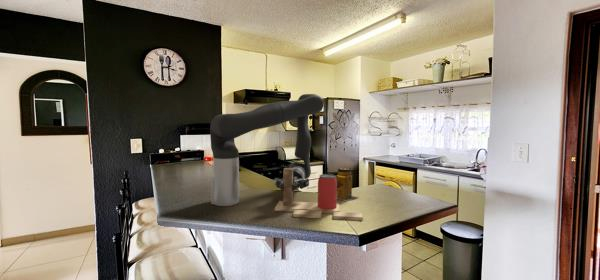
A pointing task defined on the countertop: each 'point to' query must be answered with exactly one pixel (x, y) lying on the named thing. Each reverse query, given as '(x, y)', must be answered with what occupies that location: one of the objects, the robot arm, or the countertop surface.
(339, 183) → the condiment
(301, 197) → the countertop surface
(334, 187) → the beer can
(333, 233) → the countertop surface
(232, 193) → the robot arm
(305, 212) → the broken strip
